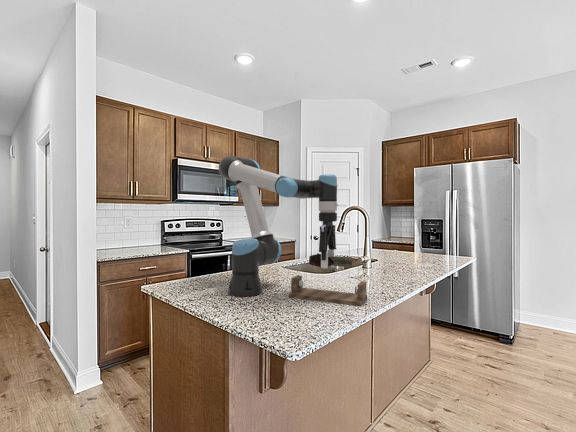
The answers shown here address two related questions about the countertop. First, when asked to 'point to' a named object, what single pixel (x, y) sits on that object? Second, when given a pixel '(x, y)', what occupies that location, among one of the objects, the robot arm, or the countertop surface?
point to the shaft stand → (328, 293)
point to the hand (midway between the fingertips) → (327, 266)
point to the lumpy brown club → (331, 261)
